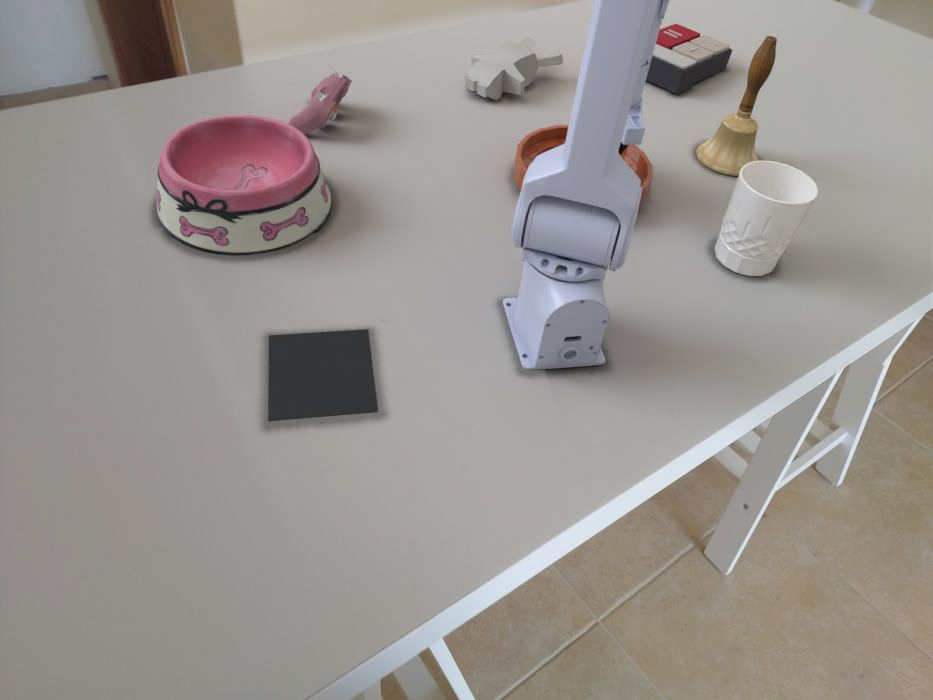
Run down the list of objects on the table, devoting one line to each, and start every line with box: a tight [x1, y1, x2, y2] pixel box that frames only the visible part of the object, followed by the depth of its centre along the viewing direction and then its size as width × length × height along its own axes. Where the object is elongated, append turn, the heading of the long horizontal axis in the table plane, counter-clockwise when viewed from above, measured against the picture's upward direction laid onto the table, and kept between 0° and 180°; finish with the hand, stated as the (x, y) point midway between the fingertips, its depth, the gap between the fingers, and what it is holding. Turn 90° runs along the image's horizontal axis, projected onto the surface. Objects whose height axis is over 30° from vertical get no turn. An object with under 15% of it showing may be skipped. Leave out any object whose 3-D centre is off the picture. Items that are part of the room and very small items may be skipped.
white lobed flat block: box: [464, 36, 564, 101], centre depth 105 cm, size 10×5×15 cm
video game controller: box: [287, 71, 353, 135], centre depth 93 cm, size 10×5×7 cm, turn 168°
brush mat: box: [267, 328, 379, 422], centre depth 65 cm, size 10×9×1 cm
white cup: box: [713, 159, 819, 277], centre depth 79 cm, size 8×8×10 cm
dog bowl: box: [156, 114, 333, 257], centre depth 79 cm, size 18×19×7 cm
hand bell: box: [695, 35, 778, 177], centre depth 91 cm, size 8×8×16 cm
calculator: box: [646, 23, 733, 95], centre depth 113 cm, size 11×4×15 cm
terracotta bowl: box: [512, 124, 654, 209], centre depth 88 cm, size 16×16×4 cm
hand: (596, 167), depth 87 cm, fingers closed on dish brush, 2 cm apart
